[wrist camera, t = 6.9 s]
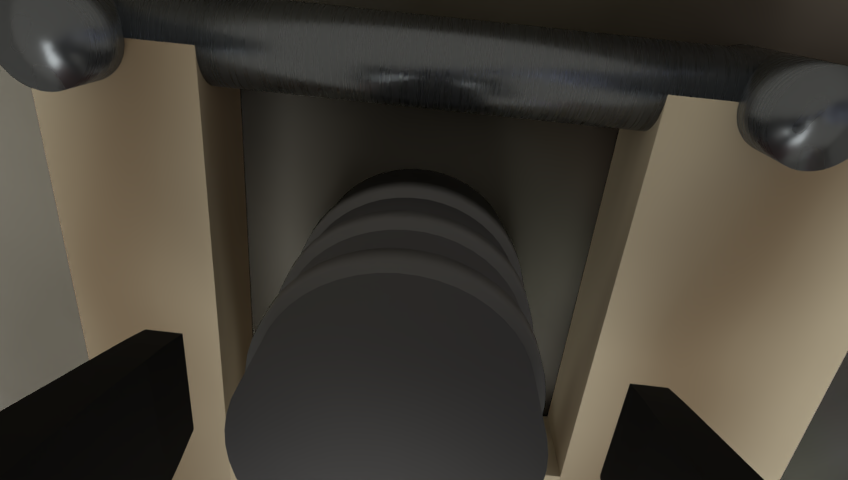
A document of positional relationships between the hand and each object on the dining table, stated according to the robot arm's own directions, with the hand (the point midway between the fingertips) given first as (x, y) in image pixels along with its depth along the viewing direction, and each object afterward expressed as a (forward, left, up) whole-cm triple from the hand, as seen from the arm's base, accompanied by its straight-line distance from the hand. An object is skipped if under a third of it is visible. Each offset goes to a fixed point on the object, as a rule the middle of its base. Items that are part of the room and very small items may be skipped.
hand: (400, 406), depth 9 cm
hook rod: (0, -5, -5) cm, 7 cm away
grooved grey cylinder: (0, 0, -5) cm, 5 cm away
